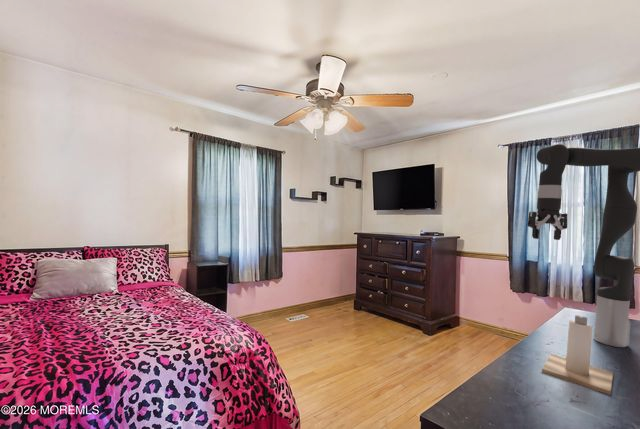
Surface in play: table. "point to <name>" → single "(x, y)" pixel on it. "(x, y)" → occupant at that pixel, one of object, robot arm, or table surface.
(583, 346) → the lotion bottle
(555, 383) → the table surface
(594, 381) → the oak board
